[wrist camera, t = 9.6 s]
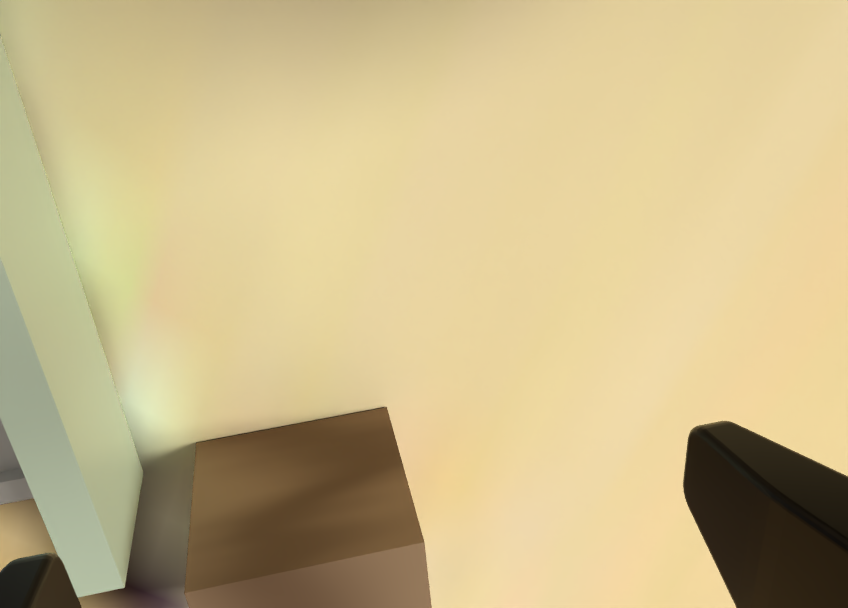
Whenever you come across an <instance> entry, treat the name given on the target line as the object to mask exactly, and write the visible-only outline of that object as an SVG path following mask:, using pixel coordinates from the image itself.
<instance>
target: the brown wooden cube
mask: <svg viewBox="0 0 848 608" xmlns="http://www.w3.org/2000/svg"><path fill="white" fill-rule="evenodd" d="M184 594H185V597H186V600H187V603H188V606H189V608H432V607H431V598H430V589H429V580H428V571H427V562H426V553H425V544H424V539H423V536H422V532H421V529H420V525H419V521H418V518H417V514H416V511H415V507H414V503H413V500H412V496H411V493H410V489H409V486H408V482H407V478H406V475H405V471H404V468H403V464H402V460H401V457H400V453H399V450H398V446H397V442H396V439H395V435H394V432H393V428H392V425H391V421H390V417H389V414H388V410H387V407H385V408H380V409H375V410H369V411H364V412H359V413H353V414H348V415H343V416H337V417H332V418H327V419H321V420H316V421H311V422H305V423H300V424H295V425H289V426H284V427H279V428H273V429H268V430H263V431H257V432H252V433H247V434H241V435H236V436H231V437H225V438H220V439H215V440H209V441H204V442H199V443H196V453H195V466H194V478H193V491H192V504H191V516H190V529H189V541H188V554H187V566H186V579H185V592H184Z"/></svg>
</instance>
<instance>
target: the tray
mask: <svg viewBox="0 0 848 608" xmlns="http://www.w3.org/2000/svg"><path fill="white" fill-rule="evenodd" d="M142 479H143V470H142V467H141V464H140V461H139V458H138V455H137V452H136V449H135V445H134V442H133V439H132V436H131V433H130V430H129V427H128V424H127V421H126V418H125V415H124V412H123V409H122V406H121V403H120V400H119V396H118V393H117V390H116V387H115V384H114V381H113V378H112V375H111V372H110V369H109V366H108V363H107V360H106V357H105V354H104V351H103V348H102V344H101V341H100V338H99V335H98V332H97V329H96V326H95V323H94V320H93V317H92V314H91V311H90V308H89V305H88V302H87V299H86V295H85V292H84V289H83V286H82V283H81V280H80V277H79V274H78V271H77V268H76V265H75V262H74V259H73V256H72V253H71V250H70V247H69V243H68V240H67V237H66V234H65V231H64V228H63V225H62V222H61V219H60V216H59V213H58V210H57V207H56V204H55V201H54V198H53V194H52V191H51V188H50V185H49V182H48V179H47V176H46V173H45V170H44V167H43V164H42V161H41V158H40V155H39V152H38V149H37V145H36V142H35V139H34V136H33V133H32V130H31V127H30V124H29V121H28V118H27V115H26V112H25V109H24V106H23V103H22V100H21V97H20V93H19V90H18V87H17V84H16V81H15V78H14V75H13V72H12V69H11V66H10V63H9V60H8V57H7V54H6V51H5V48H4V44H3V41H2V38H1V35H0V505H1V504H6V503H12V502H17V501H22V500H27V499H33V498H34V500H35V502H36V504H37V507H38V509H39V511H40V514H41V516H42V519H43V521H44V523H45V526H46V528H47V530H48V533H49V535H50V538H51V540H52V542H53V545H54V547H55V549H56V552H57V554H58V556H59V557H60V559H61V560H62V562H63V564H64V566H65V569H66V571H67V573H68V576H69V578H70V581H71V583H72V585H73V588H74V590H75V593H76V595H77V598H78V597H83V596H87V595H92V594H97V593H102V592H106V591H111V590H116V589H121V588H125V582H126V576H127V570H128V564H129V558H130V552H131V546H132V540H133V533H134V527H135V521H136V515H137V509H138V503H139V497H140V491H141V485H142Z"/></svg>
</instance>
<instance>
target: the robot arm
mask: <svg viewBox="0 0 848 608" xmlns="http://www.w3.org/2000/svg"><path fill="white" fill-rule="evenodd" d="M683 488H684V495H685V499H686V502H687V504H688V507H689V509H690V511H691V513H692V515H693V517H694V519H695V522H696V524H697V526H698V528H699V530H700V532H701V534H702V536H703V538H704V540H705V543H706V545H707V547H708V549H709V551H710V553H711V555H712V557H713V559H714V561H715V564H716V566H717V568H718V570H719V572H720V574H721V576H722V578H723V580H724V582H725V584H726V587H727V589H728V591H729V593H730V595H731V597H732V599H733V601H734V603H735V605H736V608H848V476H846V475H844V474H841V473H839V472H837V471H835V470H833V469H831V468H829V467H827V466H824V465H822V464H820V463H818V462H816V461H814V460H812V459H810V458H807V457H805V456H803V455H801V454H799V453H797V452H795V451H793V450H790V449H788V448H786V447H784V446H782V445H780V444H778V443H775V442H773V441H771V440H769V439H767V438H765V437H763V436H761V435H758V434H756V433H754V432H752V431H750V430H748V429H746V428H744V427H741V426H739V425H737V424H735V423H732V422H729V421H720V422H715V423H710V424H705V425H699V426H696V427H695V428H693V429H692V430H691V432H690V434H689V437H688V444H687V453H686V462H685V471H684V480H683ZM0 608H81V605H80V602H79V600H78V598H77V595H76V593H75V590H74V588H73V585H72V583H71V581H70V578H69V576H68V573H67V571H66V569H65V566H64V564H63V562H62V560H61V559H60V557H59V556H58V555H56V554H54V553H45V554H40V555H35V556H30V557H25V558H20V559H16V560H14V561H12V562H10V563H9V564H8V565H7V566H5V567H4V568H3V570H2V571H1V572H0Z"/></svg>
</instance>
